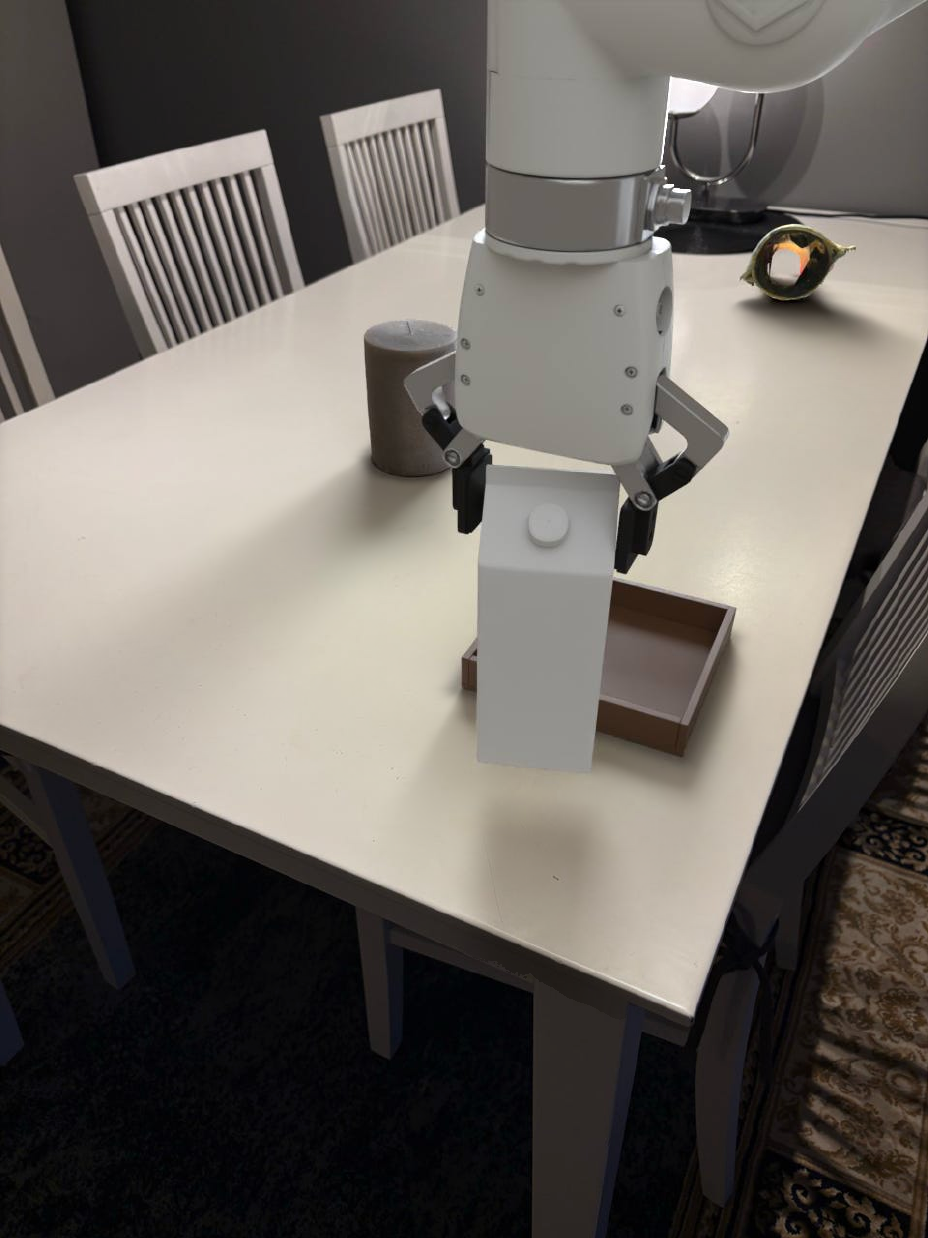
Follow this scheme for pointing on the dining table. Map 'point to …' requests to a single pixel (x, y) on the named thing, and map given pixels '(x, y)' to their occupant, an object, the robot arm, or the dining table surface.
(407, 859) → the dining table surface
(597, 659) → the milk carton
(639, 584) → the tray
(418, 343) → the pillar candle
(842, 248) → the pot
